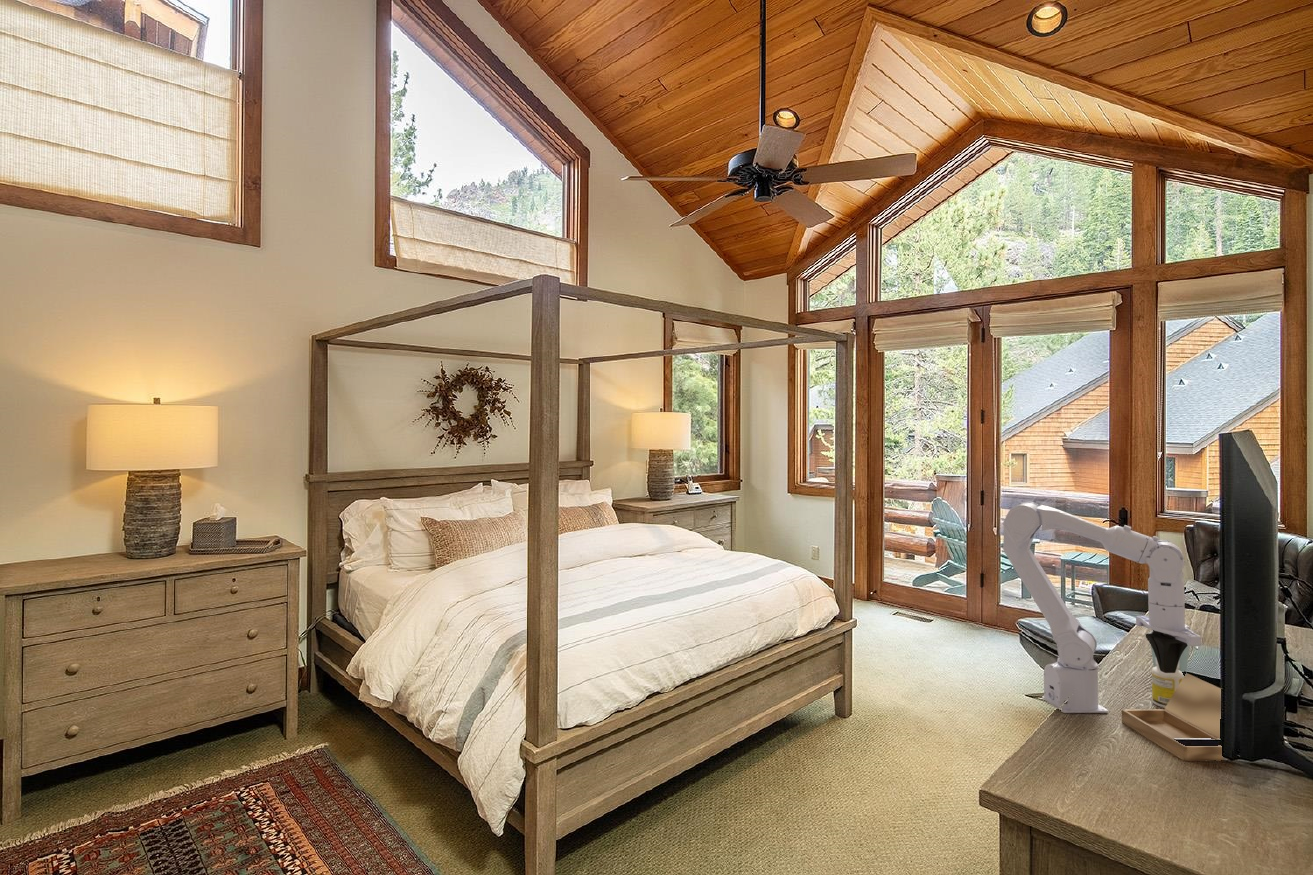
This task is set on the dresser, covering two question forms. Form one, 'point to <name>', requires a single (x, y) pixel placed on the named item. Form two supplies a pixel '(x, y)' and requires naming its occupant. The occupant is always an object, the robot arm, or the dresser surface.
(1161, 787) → the dresser surface
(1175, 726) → the carton
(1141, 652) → the dresser surface
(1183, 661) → the cup
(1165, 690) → the supplement bottle
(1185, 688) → the lid flap
